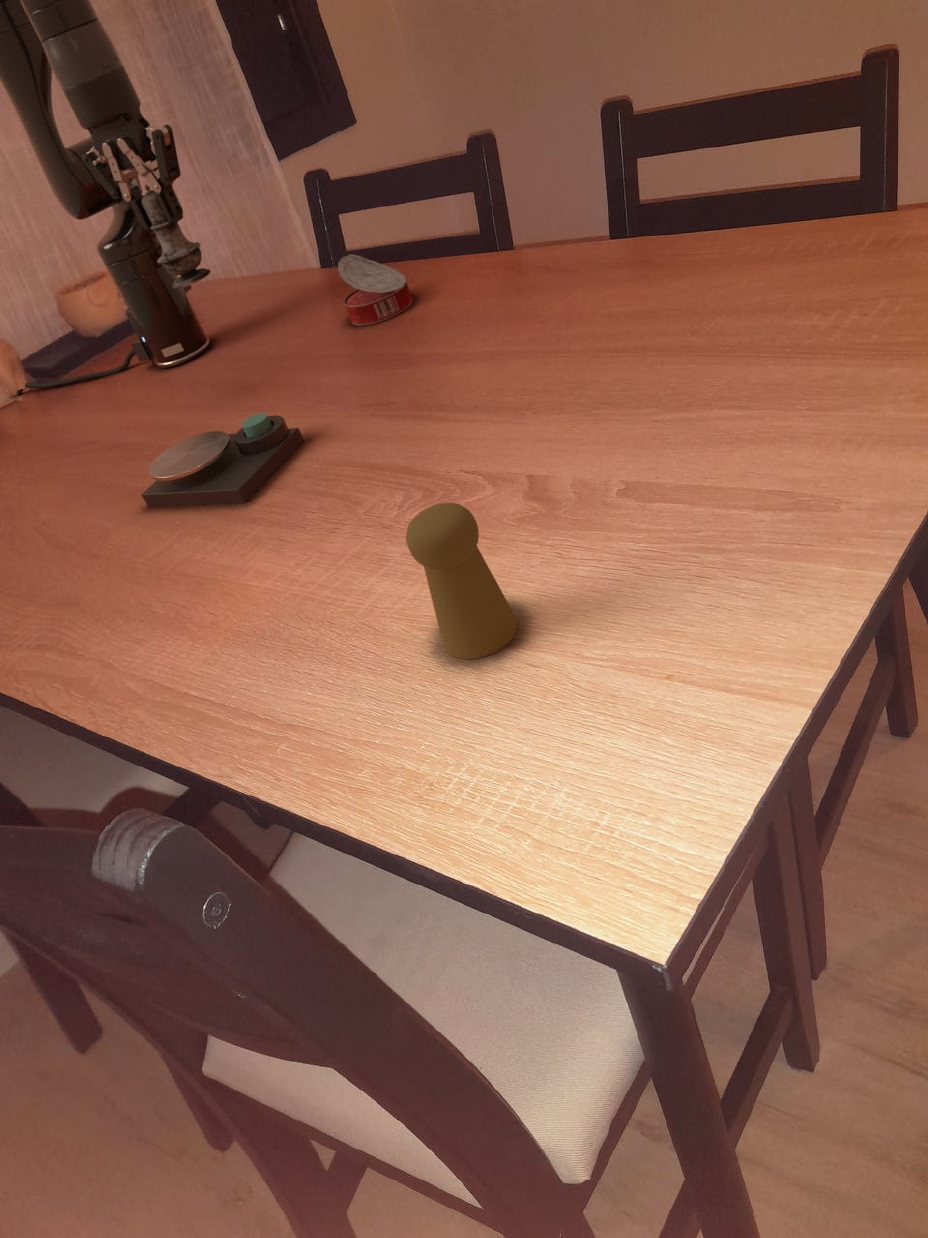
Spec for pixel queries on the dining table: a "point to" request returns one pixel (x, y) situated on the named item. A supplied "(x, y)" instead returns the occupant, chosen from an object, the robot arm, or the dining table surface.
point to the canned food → (373, 290)
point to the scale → (231, 470)
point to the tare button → (256, 425)
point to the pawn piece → (460, 582)
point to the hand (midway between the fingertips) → (164, 223)
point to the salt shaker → (174, 245)
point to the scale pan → (189, 456)
